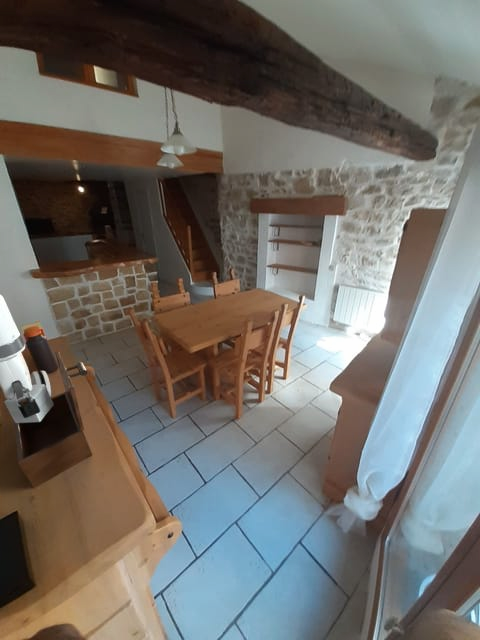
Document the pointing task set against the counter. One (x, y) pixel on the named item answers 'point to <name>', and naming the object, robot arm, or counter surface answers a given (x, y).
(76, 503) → the counter surface
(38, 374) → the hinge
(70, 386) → the lid
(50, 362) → the bottle
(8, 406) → the product box
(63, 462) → the chest
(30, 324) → the baking soda box
